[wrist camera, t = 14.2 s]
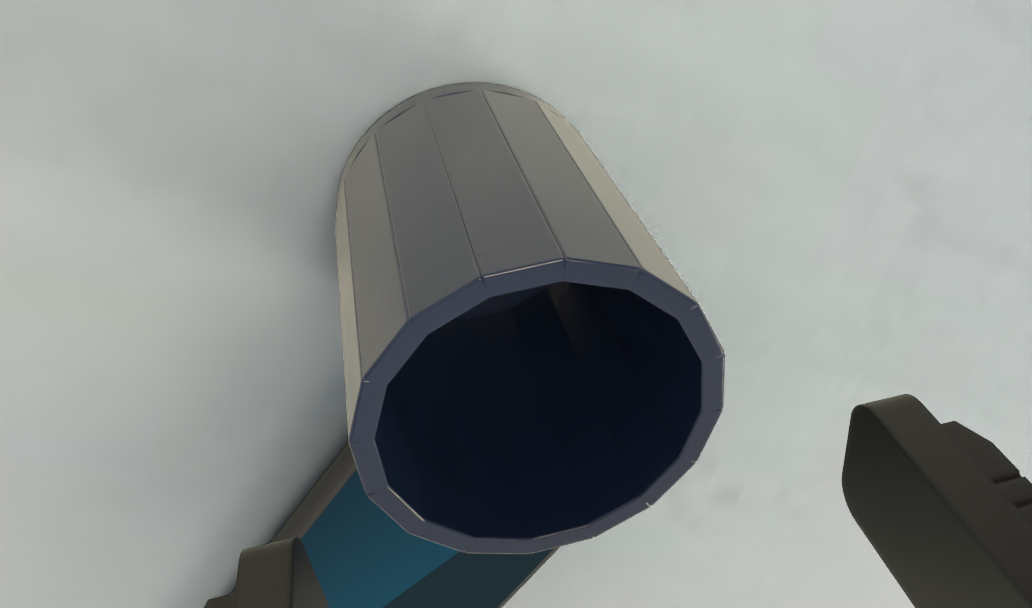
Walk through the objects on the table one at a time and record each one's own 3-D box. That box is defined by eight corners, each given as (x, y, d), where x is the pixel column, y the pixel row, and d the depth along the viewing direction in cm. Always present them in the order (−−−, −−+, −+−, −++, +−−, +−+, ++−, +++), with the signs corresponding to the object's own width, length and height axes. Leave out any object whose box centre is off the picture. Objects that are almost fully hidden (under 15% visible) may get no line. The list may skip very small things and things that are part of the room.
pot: (585, 57, 18) (730, 221, 12) (601, 287, 21) (721, 507, 15) (305, 111, 17) (305, 314, 11) (369, 339, 21) (396, 589, 15)
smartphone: (615, 464, 25) (625, 486, 24) (349, 743, 30) (351, 769, 29) (398, 369, 21) (402, 392, 20) (140, 705, 26) (135, 733, 26)
